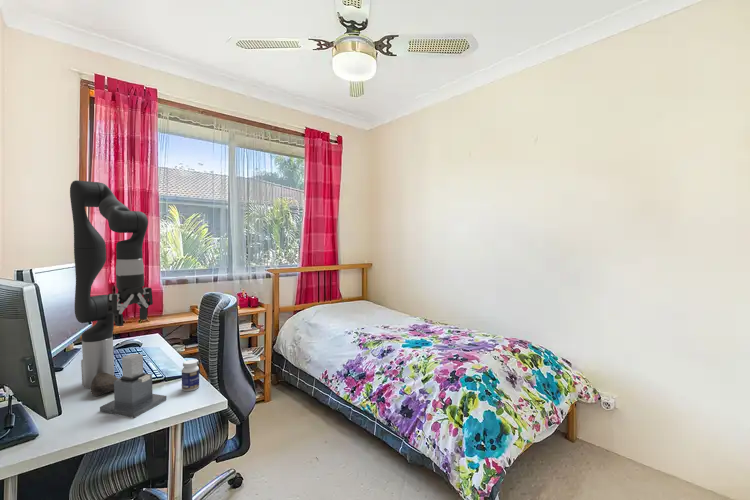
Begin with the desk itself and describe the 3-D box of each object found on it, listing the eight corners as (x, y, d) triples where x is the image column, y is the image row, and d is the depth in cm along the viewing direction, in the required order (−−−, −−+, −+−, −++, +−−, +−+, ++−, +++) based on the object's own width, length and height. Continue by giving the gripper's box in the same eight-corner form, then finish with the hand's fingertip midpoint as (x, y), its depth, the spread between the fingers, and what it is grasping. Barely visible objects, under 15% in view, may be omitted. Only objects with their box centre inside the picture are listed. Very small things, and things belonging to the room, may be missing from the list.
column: (122, 402, 118) (120, 357, 117) (134, 396, 123) (133, 353, 122) (133, 404, 117) (131, 359, 116) (145, 398, 121) (144, 354, 121)
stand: (99, 411, 116) (98, 380, 115) (133, 395, 128) (132, 366, 127) (134, 417, 112) (133, 385, 112) (166, 400, 124) (165, 370, 123)
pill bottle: (192, 392, 130) (191, 365, 129) (178, 390, 131) (177, 363, 130) (202, 385, 135) (202, 359, 135) (189, 384, 137) (188, 358, 136)
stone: (108, 395, 135) (82, 383, 130) (126, 377, 137) (102, 364, 132) (106, 410, 127) (78, 397, 122) (125, 390, 129) (99, 377, 124)
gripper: (140, 270, 125) (141, 316, 126) (99, 275, 112) (101, 327, 113) (158, 270, 123) (159, 318, 124) (118, 276, 110) (120, 329, 111)
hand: (131, 322), depth 118 cm, fingers open, 8 cm apart
